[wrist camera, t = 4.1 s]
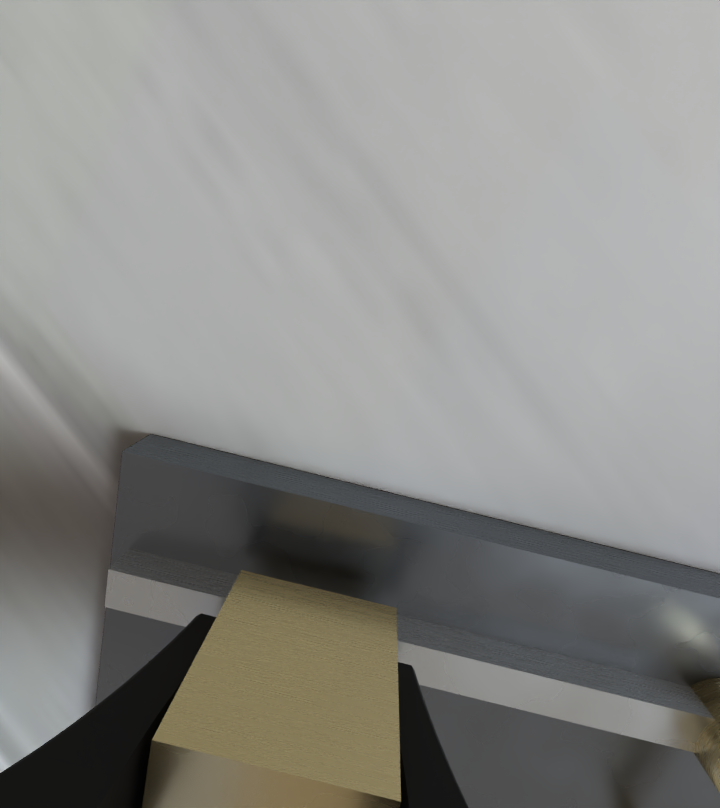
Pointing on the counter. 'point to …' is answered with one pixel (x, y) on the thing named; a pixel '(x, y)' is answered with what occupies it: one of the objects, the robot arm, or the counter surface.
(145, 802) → the leg
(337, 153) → the counter surface
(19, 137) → the counter surface
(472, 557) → the bolt plate
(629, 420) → the counter surface
